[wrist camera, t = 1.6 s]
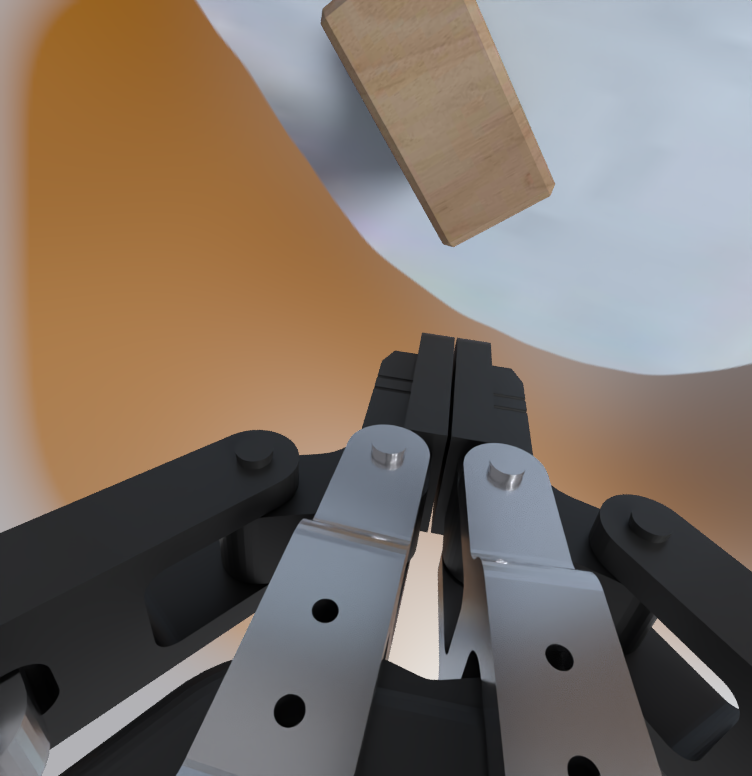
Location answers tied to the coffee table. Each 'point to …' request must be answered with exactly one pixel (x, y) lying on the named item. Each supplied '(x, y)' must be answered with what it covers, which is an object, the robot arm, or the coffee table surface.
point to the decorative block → (442, 108)
